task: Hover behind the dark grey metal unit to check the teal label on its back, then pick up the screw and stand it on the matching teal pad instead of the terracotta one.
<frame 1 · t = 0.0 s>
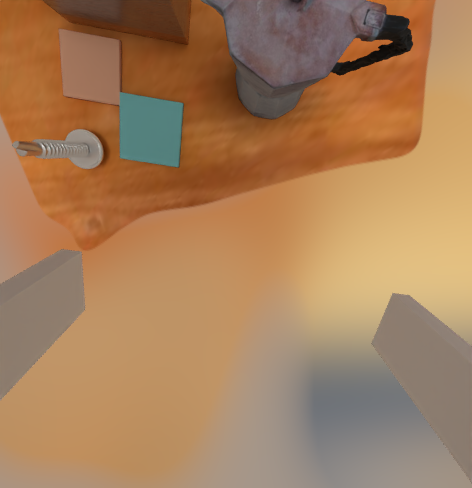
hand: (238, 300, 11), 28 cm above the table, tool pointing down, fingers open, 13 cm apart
screw: (93, 149, 35), on the table
grey unit: (129, 7, 29), on the table
teal pad: (151, 131, 34), on the table
terracotta pad: (93, 70, 31), on the table
moka pot: (272, 80, 32), on the table
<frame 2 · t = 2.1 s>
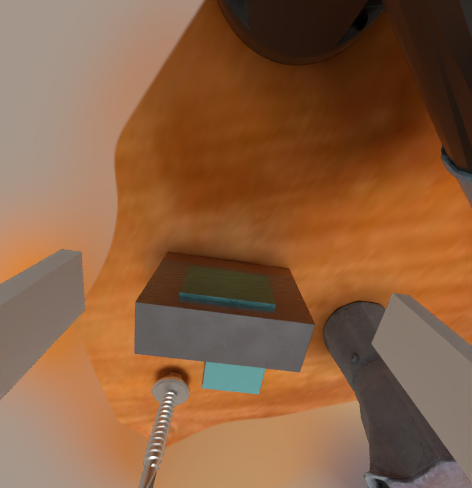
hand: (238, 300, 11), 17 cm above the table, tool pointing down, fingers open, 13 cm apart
screw: (174, 377, 35), on the table
grey unit: (226, 279, 30), on the table
teal pad: (234, 366, 34), on the table
moka pot: (359, 327, 32), on the table
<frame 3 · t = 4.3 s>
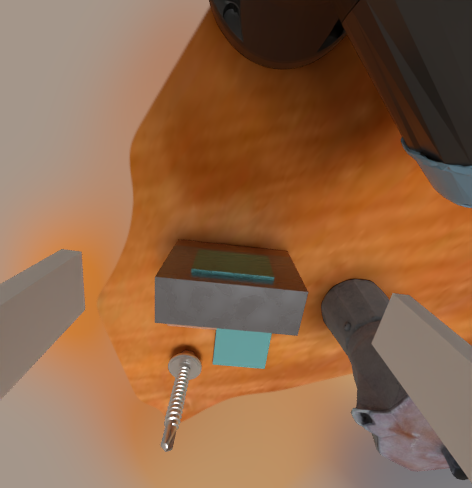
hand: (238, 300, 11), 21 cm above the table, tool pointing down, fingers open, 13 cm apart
screw: (187, 355, 39), on the table
grey unit: (231, 262, 33), on the table
teal pad: (241, 343, 38), on the table
moka pot: (354, 303, 36), on the table
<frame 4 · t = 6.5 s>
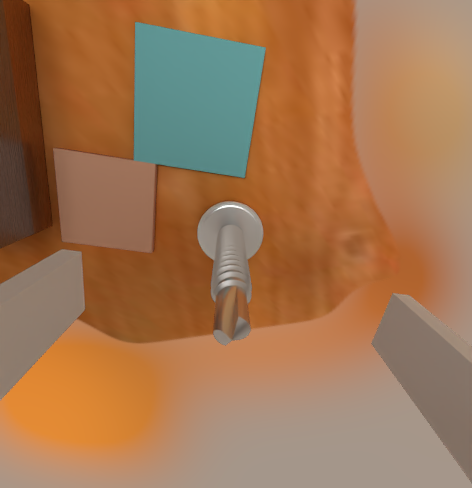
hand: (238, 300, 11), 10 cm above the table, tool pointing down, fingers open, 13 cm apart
screw: (230, 225, 21), on the table
grey unit: (4, 124, 17), on the table
teal pad: (196, 109, 17), on the table
terracotta pad: (109, 203, 19), on the table
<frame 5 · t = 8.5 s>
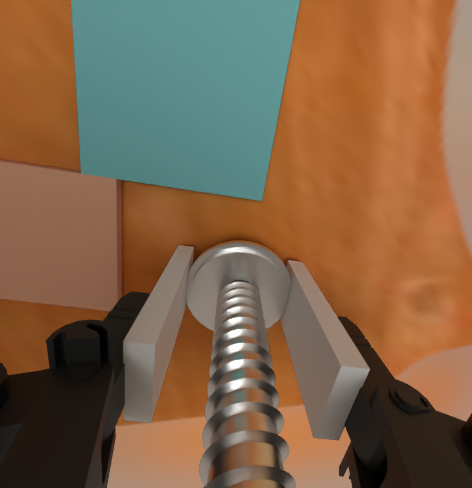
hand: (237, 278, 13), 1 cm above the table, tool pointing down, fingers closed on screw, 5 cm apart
screw: (237, 270, 13), on the table, touching gripper
teal pad: (183, 88, 10), on the table
terracotta pad: (50, 238, 13), on the table
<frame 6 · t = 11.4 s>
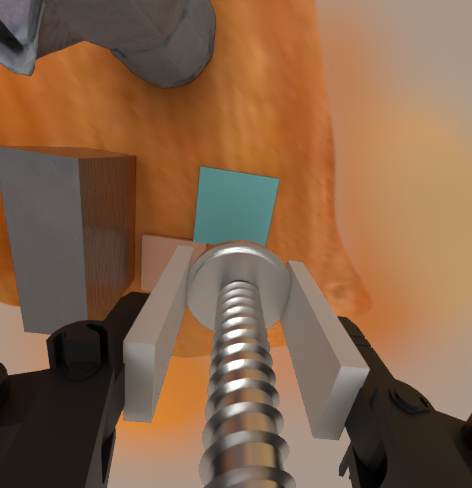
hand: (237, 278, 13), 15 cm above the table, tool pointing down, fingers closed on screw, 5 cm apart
screw: (237, 270, 13), point 14 cm above the table, touching gripper
grey unit: (111, 219, 27), on the table
teal pad: (234, 210, 27), on the table
terracotta pad: (173, 265, 29), on the table
moka pot: (162, 25, 22), on the table
when the fingers open (3 cm above the table, at t = 14.2 s): screw drops 1 cm, resting on teal pad.
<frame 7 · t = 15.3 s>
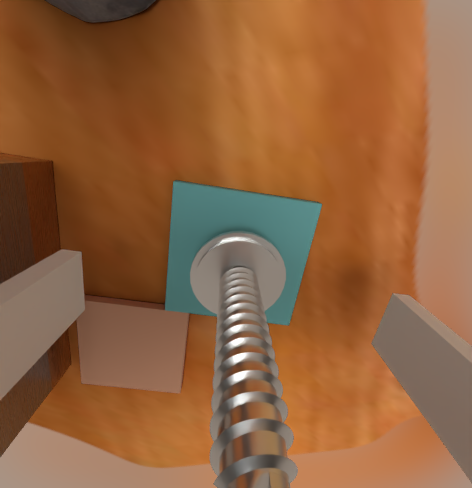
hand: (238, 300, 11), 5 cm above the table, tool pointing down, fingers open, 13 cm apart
screw: (236, 260, 15), resting on teal pad
grey unit: (21, 272, 15), on the table
teal pad: (237, 257, 15), on the table
terracotta pad: (135, 343, 17), on the table
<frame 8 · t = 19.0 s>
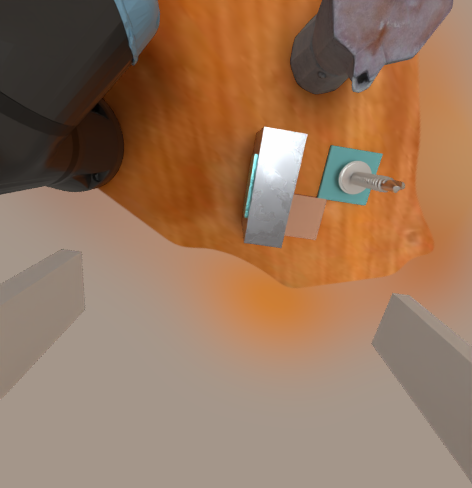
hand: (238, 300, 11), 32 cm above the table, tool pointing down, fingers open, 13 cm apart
screw: (348, 176, 40), resting on teal pad
grey unit: (263, 182, 40), on the table
teal pad: (347, 176, 40), on the table
terracotta pad: (299, 216, 42), on the table
moka pot: (320, 55, 34), on the table
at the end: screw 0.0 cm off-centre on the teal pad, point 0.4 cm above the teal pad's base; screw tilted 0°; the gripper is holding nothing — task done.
